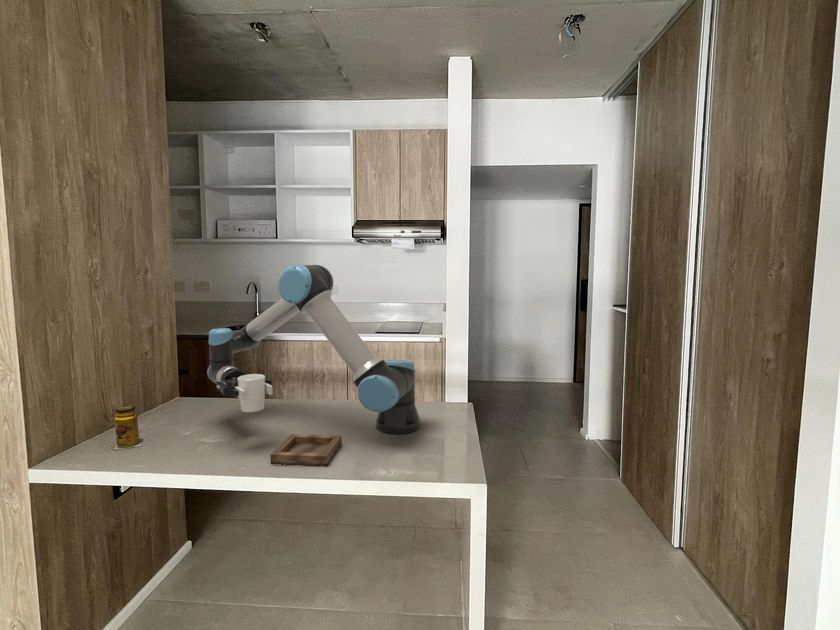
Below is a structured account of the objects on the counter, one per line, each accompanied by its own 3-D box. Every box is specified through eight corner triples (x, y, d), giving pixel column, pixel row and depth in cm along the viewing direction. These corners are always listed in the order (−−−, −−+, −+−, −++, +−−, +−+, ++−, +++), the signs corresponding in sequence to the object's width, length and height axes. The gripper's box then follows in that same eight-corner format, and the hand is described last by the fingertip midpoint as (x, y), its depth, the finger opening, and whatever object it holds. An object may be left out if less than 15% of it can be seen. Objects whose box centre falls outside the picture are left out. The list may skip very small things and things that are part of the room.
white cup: (271, 406, 151) (270, 375, 150) (255, 414, 144) (253, 381, 143) (250, 404, 154) (248, 373, 153) (233, 411, 147) (231, 379, 145)
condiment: (113, 450, 148) (110, 412, 147) (118, 441, 156) (115, 404, 155) (140, 446, 151) (137, 409, 150) (144, 437, 159) (141, 401, 157)
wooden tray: (341, 445, 151) (341, 435, 150) (326, 466, 135) (326, 456, 135) (291, 443, 152) (290, 434, 152) (270, 464, 137) (270, 454, 136)
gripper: (262, 385, 169) (290, 399, 151) (200, 395, 156) (223, 412, 139) (261, 363, 168) (290, 375, 151) (198, 372, 155) (221, 386, 138)
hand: (258, 393), depth 145 cm, fingers closed on white cup, 7 cm apart
